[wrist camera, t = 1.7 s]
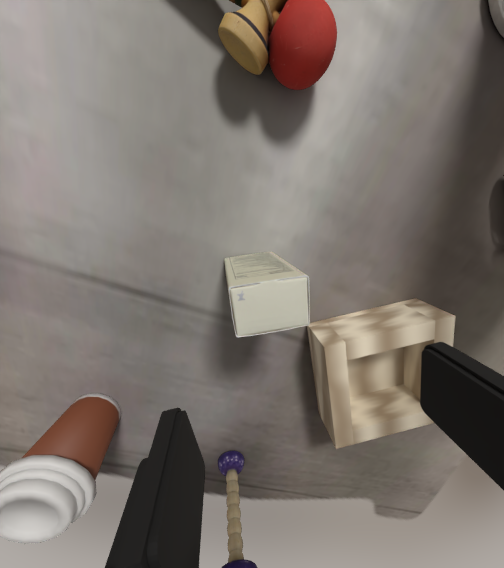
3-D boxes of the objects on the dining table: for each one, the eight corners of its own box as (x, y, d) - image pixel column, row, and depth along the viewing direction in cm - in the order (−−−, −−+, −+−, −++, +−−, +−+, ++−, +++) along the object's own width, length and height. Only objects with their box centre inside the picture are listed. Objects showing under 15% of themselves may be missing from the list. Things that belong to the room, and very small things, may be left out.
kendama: (139, 9, 22) (294, 124, 24) (104, -94, 16) (317, 74, 18) (183, -60, 22) (335, 61, 24) (165, -190, 16) (371, -11, 18)
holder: (415, 298, 33) (455, 315, 28) (413, 388, 38) (447, 419, 32) (306, 323, 32) (324, 347, 27) (318, 412, 37) (335, 448, 32)
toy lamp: (222, 446, 37) (221, 621, 21) (250, 449, 38) (270, 620, 22) (215, 468, 38) (208, 650, 22) (242, 471, 39) (255, 648, 23)
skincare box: (228, 290, 30) (231, 340, 18) (223, 257, 28) (223, 287, 17) (278, 283, 30) (312, 327, 19) (275, 250, 29) (310, 275, 17)
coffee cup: (137, 392, 32) (90, 489, 21) (124, 441, 35) (75, 554, 23) (65, 378, 31) (-29, 476, 19) (56, 432, 33) (-34, 549, 21)
